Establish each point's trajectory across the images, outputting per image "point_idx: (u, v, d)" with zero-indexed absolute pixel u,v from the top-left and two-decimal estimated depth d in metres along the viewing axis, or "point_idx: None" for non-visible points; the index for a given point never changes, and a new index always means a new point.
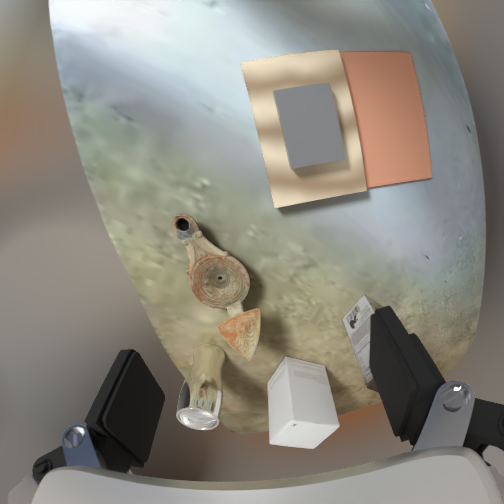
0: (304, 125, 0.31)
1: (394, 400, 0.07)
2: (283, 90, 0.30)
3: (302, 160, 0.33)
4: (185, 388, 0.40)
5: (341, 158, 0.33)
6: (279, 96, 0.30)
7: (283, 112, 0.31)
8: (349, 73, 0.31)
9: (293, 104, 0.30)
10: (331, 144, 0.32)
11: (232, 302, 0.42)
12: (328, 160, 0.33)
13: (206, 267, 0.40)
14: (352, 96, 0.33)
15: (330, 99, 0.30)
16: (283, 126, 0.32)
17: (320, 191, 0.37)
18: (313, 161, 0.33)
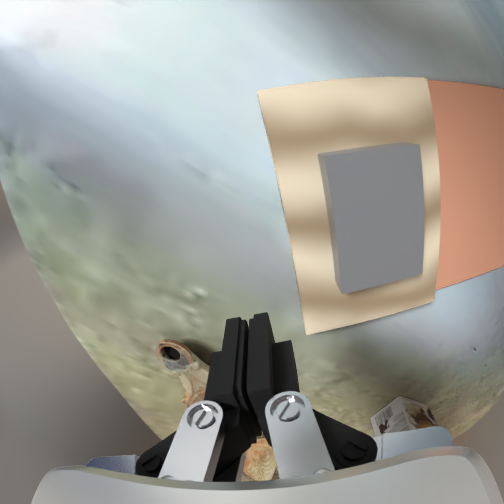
0: (371, 224, 0.18)
1: None
2: (342, 156, 0.16)
3: (361, 281, 0.20)
4: None
5: (417, 272, 0.20)
6: (333, 168, 0.17)
7: (339, 200, 0.17)
8: (434, 118, 0.18)
9: (357, 184, 0.17)
10: (407, 253, 0.19)
11: None
12: (398, 277, 0.20)
13: None
14: None
15: (418, 176, 0.16)
16: (336, 226, 0.18)
17: (374, 310, 0.23)
18: (376, 281, 0.20)
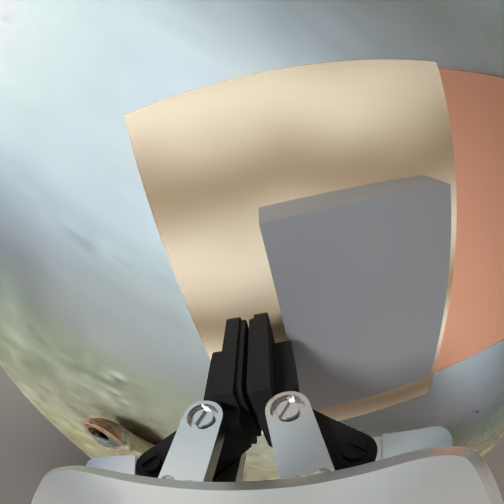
0: (354, 328, 0.10)
1: None
2: (296, 221, 0.09)
3: (334, 397, 0.12)
4: None
5: (422, 376, 0.12)
6: (280, 244, 0.09)
7: (293, 299, 0.10)
8: None
9: (329, 270, 0.09)
10: (411, 357, 0.11)
11: None
12: (393, 386, 0.12)
13: None
14: None
15: (442, 243, 0.09)
16: (290, 337, 0.11)
17: (341, 412, 0.16)
18: (359, 394, 0.12)
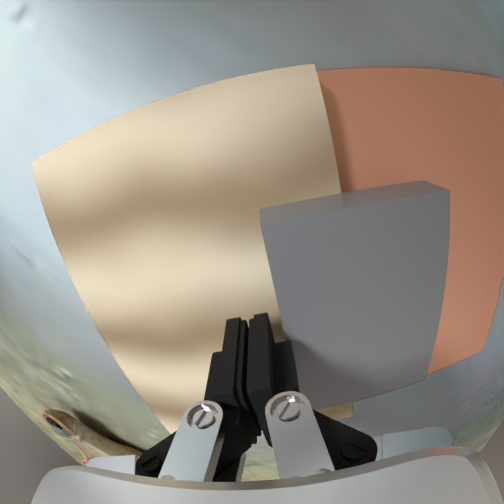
0: (351, 331, 0.10)
1: None
2: (297, 223, 0.09)
3: (330, 398, 0.12)
4: None
5: (418, 379, 0.12)
6: (280, 245, 0.09)
7: (292, 301, 0.10)
8: (350, 142, 0.11)
9: (328, 272, 0.10)
10: (407, 360, 0.11)
11: None
12: (389, 389, 0.12)
13: None
14: None
15: (441, 248, 0.09)
16: (288, 338, 0.11)
17: None
18: (355, 396, 0.12)
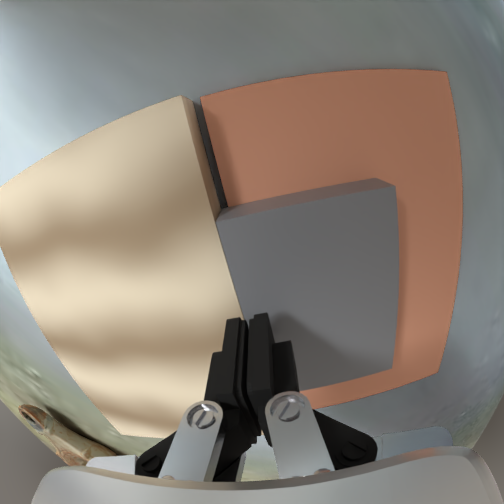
0: (306, 317, 0.12)
1: None
2: (247, 220, 0.10)
3: None
4: None
5: (383, 368, 0.13)
6: (234, 239, 0.11)
7: (248, 288, 0.11)
8: (237, 166, 0.12)
9: (278, 263, 0.11)
10: (368, 348, 0.13)
11: None
12: (354, 376, 0.14)
13: (72, 456, 0.20)
14: None
15: (390, 240, 0.11)
16: (248, 322, 0.12)
17: None
18: (320, 382, 0.14)
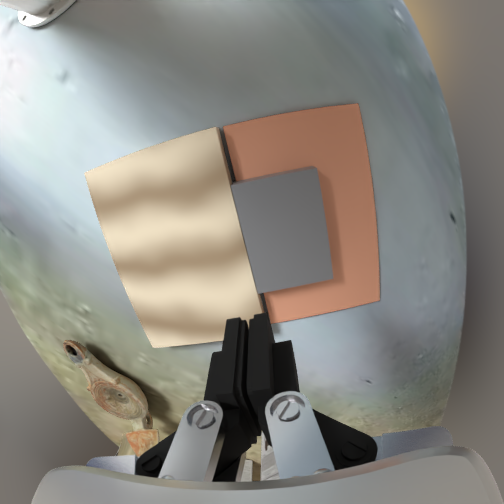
0: (275, 236, 0.24)
1: None
2: (245, 184, 0.22)
3: (273, 283, 0.26)
4: None
5: (327, 277, 0.25)
6: (239, 194, 0.23)
7: (245, 219, 0.23)
8: (241, 161, 0.24)
9: (260, 205, 0.23)
10: (314, 260, 0.25)
11: (134, 417, 0.34)
12: (309, 281, 0.25)
13: (102, 387, 0.32)
14: None
15: (316, 195, 0.22)
16: (245, 239, 0.24)
17: (202, 335, 0.28)
18: (288, 284, 0.25)
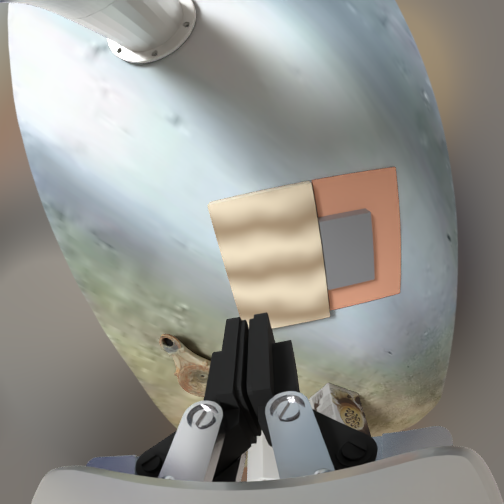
0: (343, 253, 0.37)
1: None
2: (328, 221, 0.35)
3: (338, 282, 0.38)
4: None
5: (371, 278, 0.38)
6: (324, 227, 0.35)
7: (326, 243, 0.36)
8: (322, 204, 0.36)
9: (336, 235, 0.36)
10: (364, 268, 0.37)
11: None
12: (360, 281, 0.38)
13: (190, 371, 0.45)
14: None
15: (369, 228, 0.35)
16: (325, 255, 0.37)
17: (285, 320, 0.41)
18: (347, 283, 0.38)
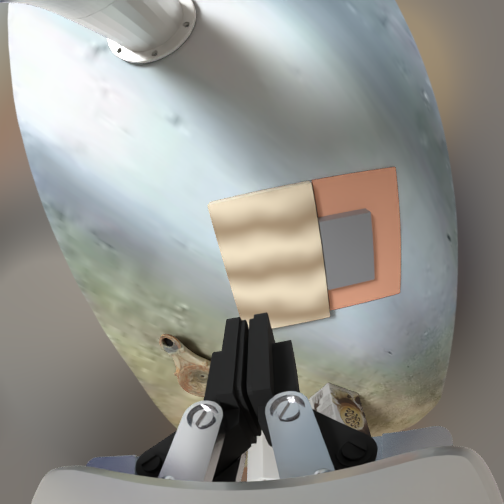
0: (343, 253, 0.37)
1: None
2: (328, 221, 0.35)
3: (338, 282, 0.38)
4: None
5: (371, 278, 0.38)
6: (324, 227, 0.35)
7: (326, 243, 0.36)
8: (322, 204, 0.36)
9: (336, 234, 0.36)
10: (364, 268, 0.37)
11: None
12: (360, 281, 0.38)
13: (190, 371, 0.45)
14: None
15: (369, 228, 0.35)
16: (325, 255, 0.37)
17: (285, 320, 0.41)
18: (347, 283, 0.38)
